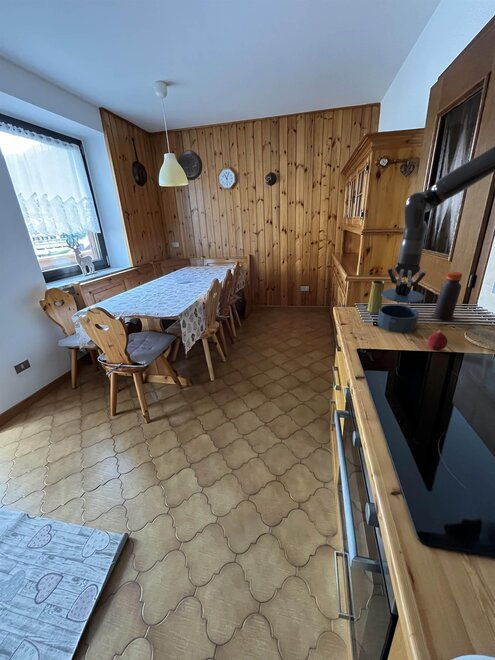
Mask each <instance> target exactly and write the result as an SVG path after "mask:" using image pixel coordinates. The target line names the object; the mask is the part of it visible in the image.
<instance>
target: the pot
mask: <svg viewBox="0 0 495 660" xmlns="http://www.w3.org/2000/svg"><path fill="white" fill-rule="evenodd" d="M418 319H419V312H418V310H417V309H414V308H412V307H409V306H407V305H406V304H386V305H383V306H381V308H380V309H379V313H378V316H377V325H378V326H379V327H380V328H382V329H384V330H387V331H391V332H395V333H408V332H413V331H414V330H415V329H416V327H417V324H418Z"/></svg>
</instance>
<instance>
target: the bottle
mask: <svg viewBox="0 0 495 660" xmlns="http://www.w3.org/2000/svg"><path fill="white" fill-rule="evenodd" d="M462 277H463V273H461V272H459V271H458V272H457V271H449V272H447V274H446V281H445V282H442V284H441V287H440V290H439V294H438V298H437V301H436V304H435V305H436V306H435V309H434V313H433V318H434V319H436V320H439V321H443V322H445V321H446V322H449V321H452V320H453V316H454V314H455V309H456V307H457V303H458V301H459V296H460V295H461V294H460V293H461V290H462V284H461V283H460V282H461V280H462Z"/></svg>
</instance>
